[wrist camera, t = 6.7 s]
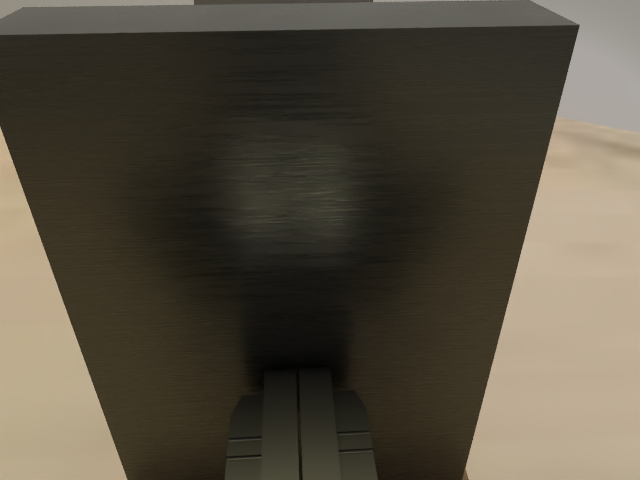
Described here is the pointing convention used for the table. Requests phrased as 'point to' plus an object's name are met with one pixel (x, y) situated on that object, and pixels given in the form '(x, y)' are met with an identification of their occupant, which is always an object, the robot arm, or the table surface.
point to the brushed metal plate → (284, 206)
